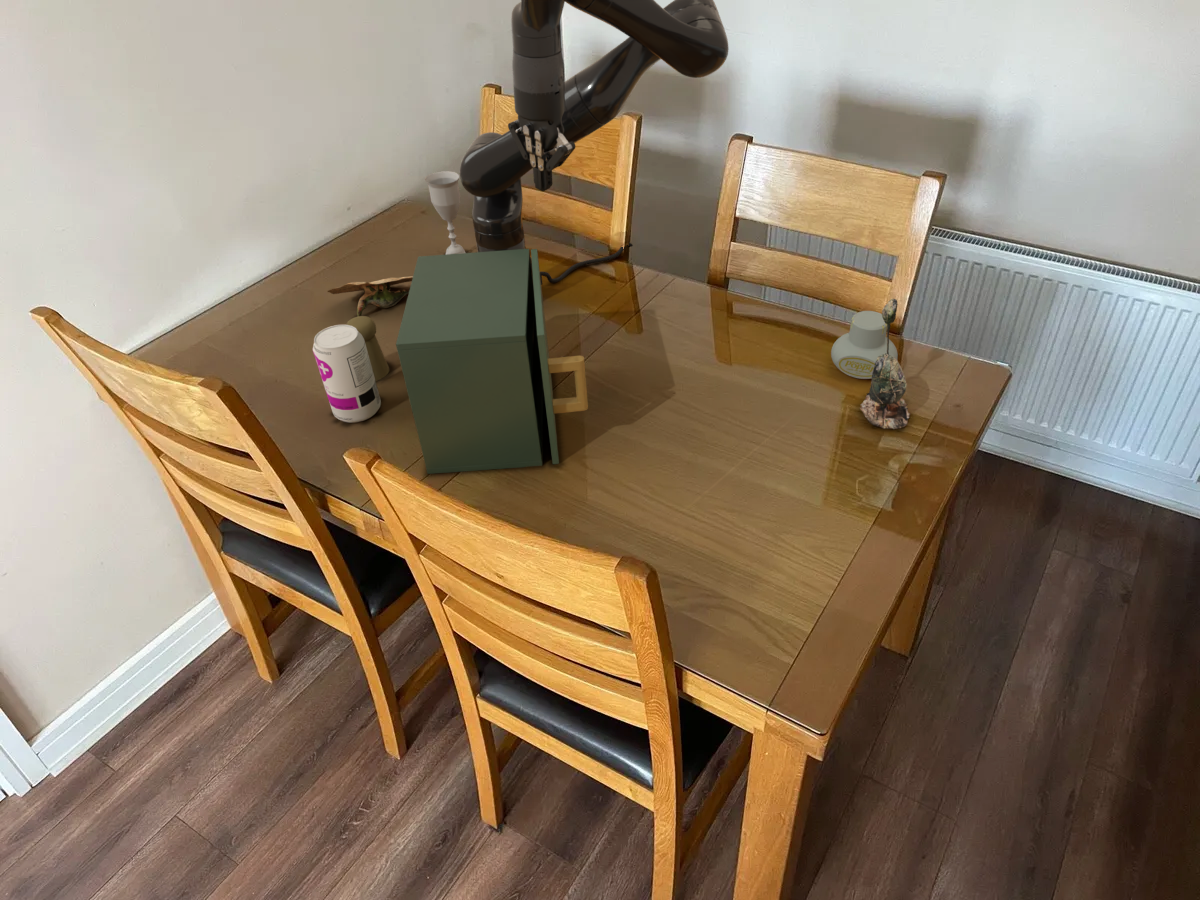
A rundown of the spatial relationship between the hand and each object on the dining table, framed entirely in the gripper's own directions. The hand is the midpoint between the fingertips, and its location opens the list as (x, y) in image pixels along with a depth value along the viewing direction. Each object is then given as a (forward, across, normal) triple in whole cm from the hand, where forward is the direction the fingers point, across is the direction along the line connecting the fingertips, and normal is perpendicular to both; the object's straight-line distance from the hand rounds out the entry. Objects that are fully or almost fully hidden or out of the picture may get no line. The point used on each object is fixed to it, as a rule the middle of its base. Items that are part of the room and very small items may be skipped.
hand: (543, 188), depth 140 cm
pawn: (+33, -19, -27) cm, 47 cm away
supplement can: (+32, -11, -35) cm, 49 cm away
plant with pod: (+26, +58, +19) cm, 66 cm away
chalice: (+37, -41, +12) cm, 57 cm away
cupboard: (+30, +8, -22) cm, 39 cm away
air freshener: (+27, +48, +28) cm, 62 cm away
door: (+29, +17, -13) cm, 36 cm away
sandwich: (+36, -39, -12) cm, 54 cm away
